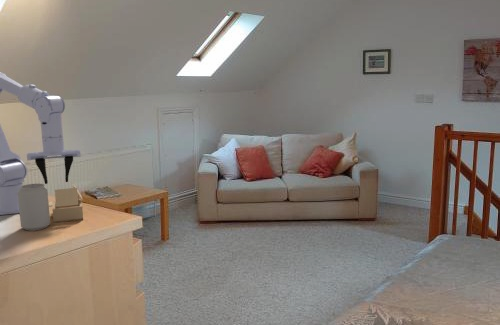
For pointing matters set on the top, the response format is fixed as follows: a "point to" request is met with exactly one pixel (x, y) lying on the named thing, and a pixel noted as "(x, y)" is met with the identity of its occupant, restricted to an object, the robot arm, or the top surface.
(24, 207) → the can
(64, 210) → the carton
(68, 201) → the long flap
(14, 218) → the top surface
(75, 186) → the side flap
